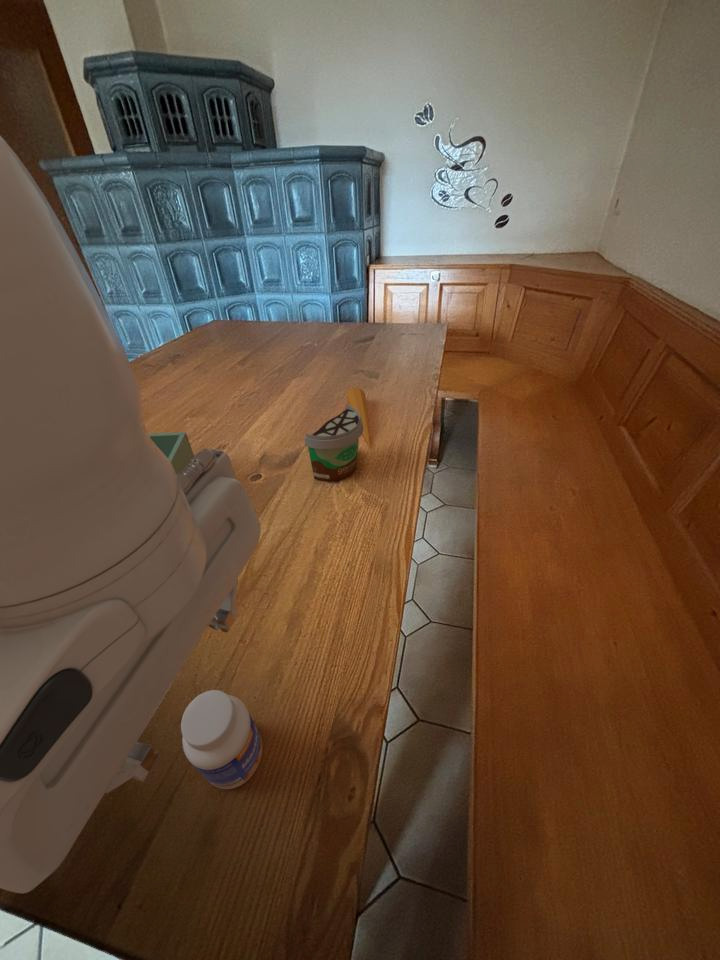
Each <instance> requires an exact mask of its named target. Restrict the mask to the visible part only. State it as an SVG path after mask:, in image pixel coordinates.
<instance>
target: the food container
mask: <svg viewBox="0 0 720 960" xmlns="http://www.w3.org/2000/svg"><path fill="white" fill-rule="evenodd" d="M362 433H363V424H362V419H361V417H360V415H359V413H358V411H357V410H356V409H354V408H353V407H351V406H349V405H348V403H346V404H345V409H344V410H342V412H340V413H339V414H338V415H336V416H334V417H332V418H330V419H328V420H327V421H326V422H325V423H324V424H322V426H320V427H319V429H318V430H316V431H315V432H313V433H312V434H310V433H305V437H304V446H305V447H307V449H308V454H309V459H310V463H311V469H312V473H313V479H315V480H317V481H321V482H326V483H327V482H328V483H333V482H339V481H342V480H346V479H347V478H349V477H351V476H353V474H354V473H355V472H356V470H357V466H358V465H357V464H358V453H359V441H360V437H361V436H363V435H362Z"/></svg>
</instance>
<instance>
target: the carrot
mask: <svg viewBox="0 0 720 960" xmlns="http://www.w3.org/2000/svg"><path fill="white" fill-rule="evenodd" d="M346 404H347V405H349V406H351V407H353V408H354V409H356V410H357V411H358V413H359V415H360V417H361V419H362V424H363V433H362V435H361V436H363V438H364V440H365V442H366V443H367V445H368V447H369V448H370V450H371V449H372V444H371V443H372V442H371V428H370V421H369V420H370V419H369V413H368V412H369V411H368V405H367V397H366V393H365V392H364V390H363V389H361V388H360V387H359V386H356V387H355V386H354V387H353V386H352V387H350V388H349V390H347V392H346Z"/></svg>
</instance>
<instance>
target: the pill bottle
mask: <svg viewBox="0 0 720 960" xmlns="http://www.w3.org/2000/svg"><path fill="white" fill-rule="evenodd" d="M180 721H181V722H180V731H181V735H182V738H181V739H182V741H181V742H182V744H181V745H182V750H183V753H184V755H185V757H186V759H187V760H188V762H189V763H190V764H191V765H192V766H193V767H194V768H195V769H196V770H197V771H198V772H199V773H200V774H201V775H202V776H203V777H204V778H205V779H206V780H207V782H209V783H210V784H211V785H212V786H214V787H216V788H218V789H222V790H232V789H235V788H238V787H240V786H242V785H244V784H245V783H247V781H249V780H250V778H251V777H252V776H253V775H254V774H255V772H256V771H257V769H258V767H259V765H260V762H261V759H262V755H263V741H262V740H263V739H262V736H261V733H260V731H259V729H258V728H257V725H256V724H255V722H254V720H253V718H252V716H251V714H250V712H249V710H248V708H247V706H246V704H245V703H244V702H243V701H242V699H240V698H239V697H237V696H235V695H232V694H227V693H226V692H224V691H222V690H219V689H211V690H206V691H204V692H202V693H200V694H198V695H197V696H196V697H194V698H193V699H192V700H191V701H190V703H189V704H188V705H187V706H186V707H185V710H184V712H183V714H182V718H181V720H180Z"/></svg>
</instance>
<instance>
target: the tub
mask: <svg viewBox="0 0 720 960" xmlns="http://www.w3.org/2000/svg"><path fill="white" fill-rule="evenodd" d="M148 434H149V436H150V438H151V439H152V441H153V442H154V443H155V444H156V446H157V447H158V448H159V449H160V450H161V451H162V452H163V453H164V454H165V455H166V457H167V458H168V459H169V461H170V463H171V464H172V466H173V468H174V470H175V472H176V474H177V473H179V472H180V471H181V470H183V469H184V468H185V467H186V466H187V465H188V464H189V461H190V460H191V459H192V458H193V457H194V456H195V454H194V451H193V449H192V448H193V447H192V445H191V443H190V439H189V437H188V434H187V431H180V432H179V431H178V432H177V431H175V432H157V433H156V432H155V433H148Z"/></svg>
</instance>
